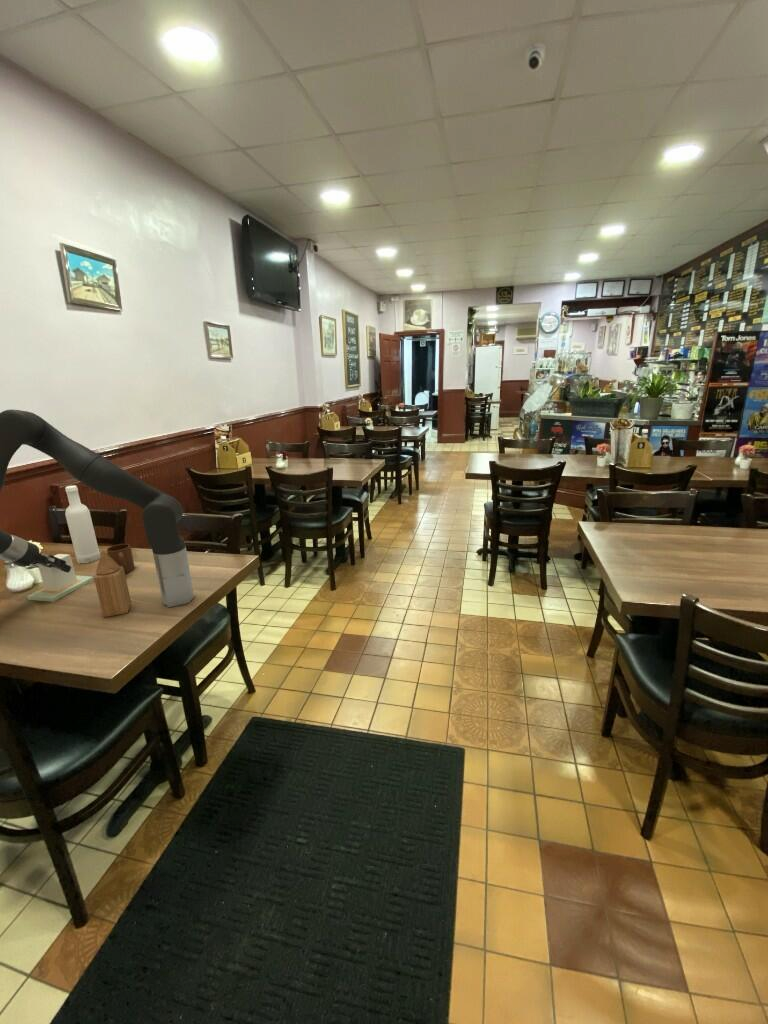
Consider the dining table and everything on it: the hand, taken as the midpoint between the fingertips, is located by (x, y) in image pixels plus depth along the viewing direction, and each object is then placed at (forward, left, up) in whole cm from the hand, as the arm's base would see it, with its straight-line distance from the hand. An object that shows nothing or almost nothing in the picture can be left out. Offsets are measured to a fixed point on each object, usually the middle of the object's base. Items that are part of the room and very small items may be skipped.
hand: (59, 568), depth 146 cm
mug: (+4, -18, -7) cm, 20 cm away
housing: (-1, 0, -6) cm, 6 cm away
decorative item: (-27, -19, -7) cm, 33 cm away
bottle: (+25, -4, -7) cm, 27 cm away
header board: (-1, 0, -7) cm, 7 cm away
